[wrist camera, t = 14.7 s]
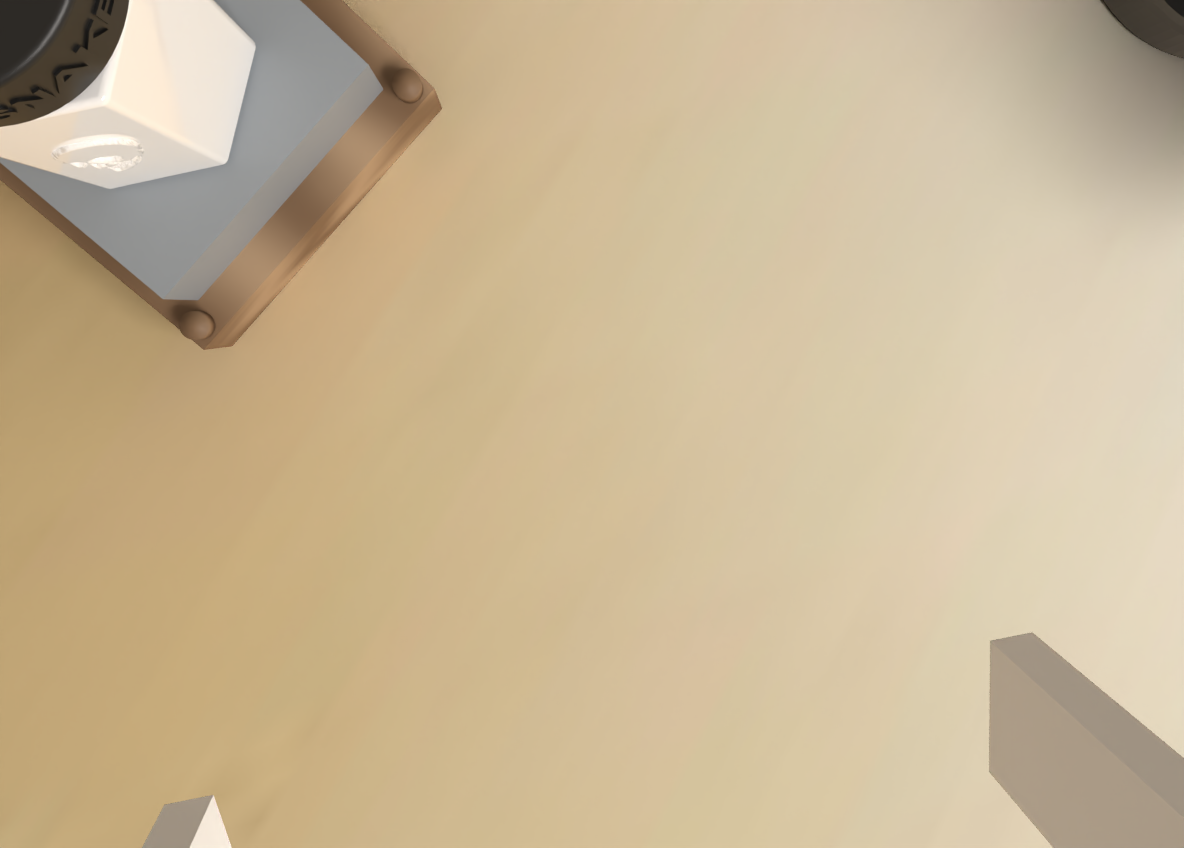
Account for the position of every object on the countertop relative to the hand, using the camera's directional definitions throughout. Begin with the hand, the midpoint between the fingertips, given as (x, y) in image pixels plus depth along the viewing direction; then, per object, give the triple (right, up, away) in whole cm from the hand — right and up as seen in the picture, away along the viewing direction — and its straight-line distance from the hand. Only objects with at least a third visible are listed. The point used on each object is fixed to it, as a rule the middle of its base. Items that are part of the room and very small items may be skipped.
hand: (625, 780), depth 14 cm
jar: (-18, +19, +17) cm, 31 cm away
